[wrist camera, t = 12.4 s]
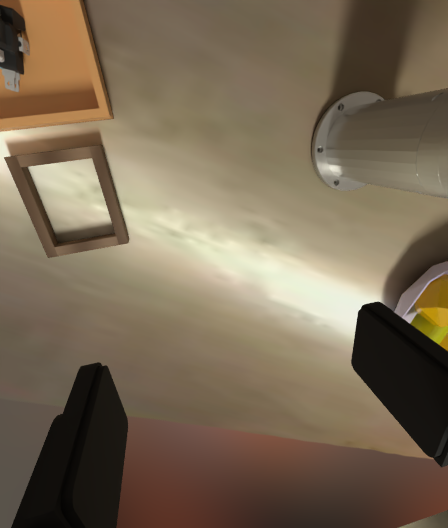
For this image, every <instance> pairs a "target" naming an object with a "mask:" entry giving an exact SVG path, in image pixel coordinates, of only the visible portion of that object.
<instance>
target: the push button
mask: <svg viewBox="0 0 448 528" xmlns="http://www.w3.org/2000/svg"><path fill="white" fill-rule="evenodd" d="M25 30H26V26H25V20H24V18H23V17H21V16H20V15H19V14H18V13H17V12H16V11H15V10H14V9H13V8H9V7H6V6H3V5H0V69H2V75H4V78H5V88H6V89H10V90H11V91H16V92H19V81H18V80H20V74H22V75H24V62H23V52H24V53H25V54H27V55H28V56H29V55H30V48H29V43H28V42H27V41H26V40H24V39H23V38H22V32H21V31H25ZM26 45H27V49H26ZM8 82H9V85H10V86H9V85H8ZM15 84H16V88H15Z"/></svg>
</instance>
